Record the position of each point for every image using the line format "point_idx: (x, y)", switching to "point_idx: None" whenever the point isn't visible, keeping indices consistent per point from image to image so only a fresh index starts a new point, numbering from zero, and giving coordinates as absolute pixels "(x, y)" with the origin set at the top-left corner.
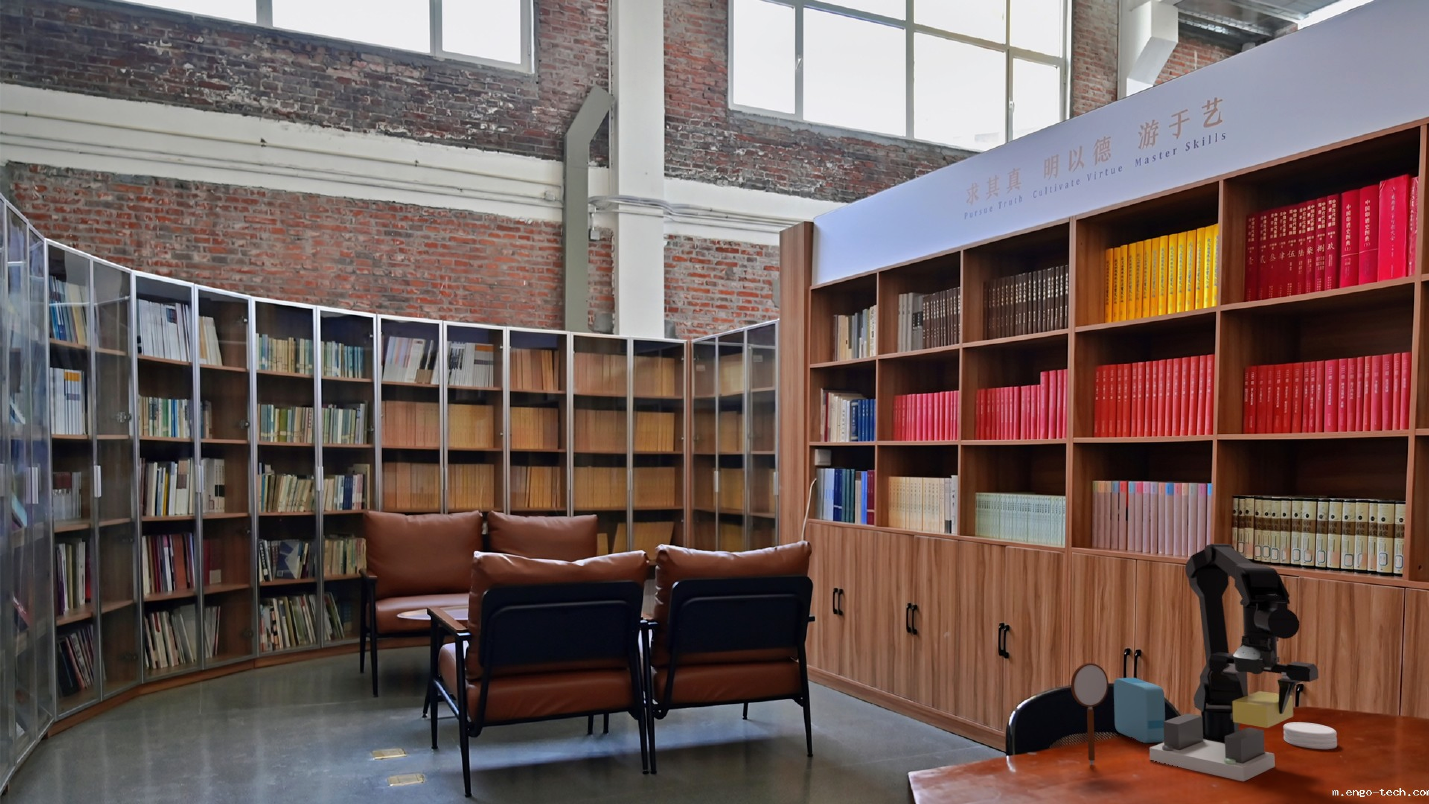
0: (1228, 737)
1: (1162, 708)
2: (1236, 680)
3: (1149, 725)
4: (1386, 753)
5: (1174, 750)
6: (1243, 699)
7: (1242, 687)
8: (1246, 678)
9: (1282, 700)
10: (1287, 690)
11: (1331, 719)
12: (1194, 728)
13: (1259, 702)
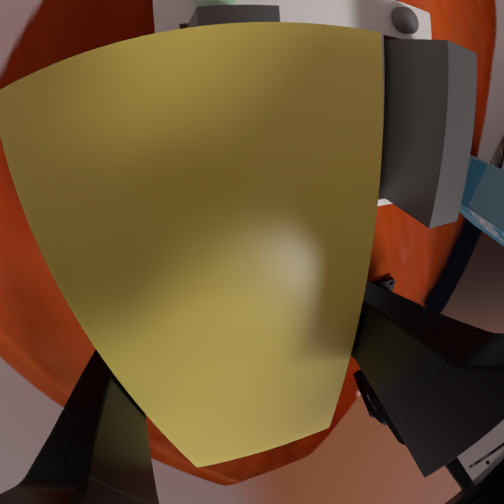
0: (260, 5)
1: (492, 213)
2: (482, 354)
3: (477, 163)
4: (149, 434)
5: (389, 22)
6: (342, 206)
7: (409, 352)
8: (408, 437)
9: (82, 391)
10: (30, 468)
11: (276, 455)
12: (417, 157)
13: (164, 219)
